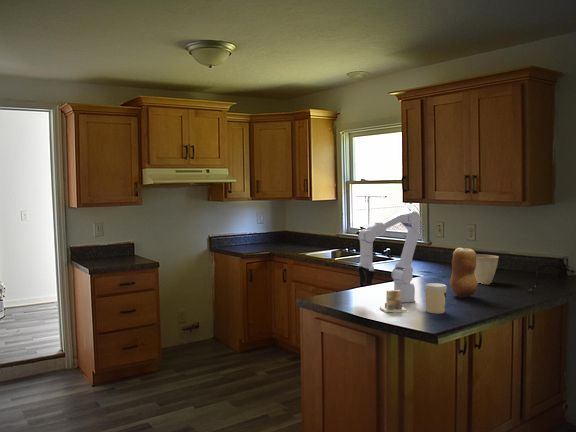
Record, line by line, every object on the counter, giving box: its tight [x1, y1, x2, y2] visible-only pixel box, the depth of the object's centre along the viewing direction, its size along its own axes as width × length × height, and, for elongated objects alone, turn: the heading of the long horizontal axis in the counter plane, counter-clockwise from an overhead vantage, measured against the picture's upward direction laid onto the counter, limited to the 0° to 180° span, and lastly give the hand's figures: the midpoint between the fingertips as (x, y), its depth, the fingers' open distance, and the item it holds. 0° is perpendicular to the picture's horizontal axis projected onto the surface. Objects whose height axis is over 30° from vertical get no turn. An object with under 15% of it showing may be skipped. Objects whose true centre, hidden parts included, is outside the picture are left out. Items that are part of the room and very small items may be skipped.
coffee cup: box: [424, 282, 448, 314], centre depth 236 cm, size 9×9×12 cm
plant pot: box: [474, 254, 500, 285], centre depth 305 cm, size 15×15×16 cm
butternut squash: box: [449, 247, 478, 299], centre depth 266 cm, size 14×13×25 cm
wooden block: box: [385, 289, 402, 309], centre depth 237 cm, size 6×2×8 cm, turn 102°
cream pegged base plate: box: [379, 302, 408, 314], centre depth 237 cm, size 10×7×3 cm
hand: (365, 283), depth 249 cm, fingers open, 7 cm apart
